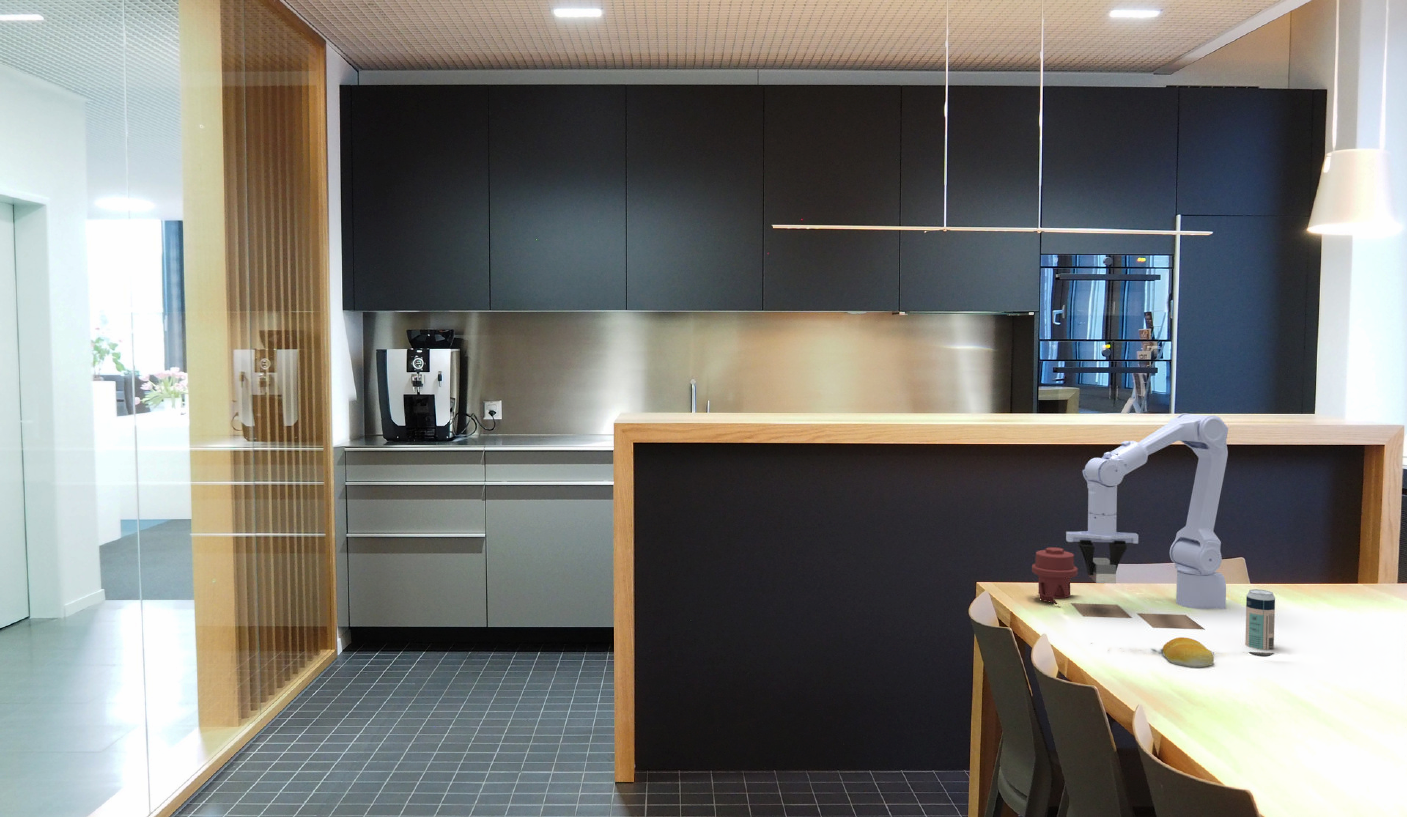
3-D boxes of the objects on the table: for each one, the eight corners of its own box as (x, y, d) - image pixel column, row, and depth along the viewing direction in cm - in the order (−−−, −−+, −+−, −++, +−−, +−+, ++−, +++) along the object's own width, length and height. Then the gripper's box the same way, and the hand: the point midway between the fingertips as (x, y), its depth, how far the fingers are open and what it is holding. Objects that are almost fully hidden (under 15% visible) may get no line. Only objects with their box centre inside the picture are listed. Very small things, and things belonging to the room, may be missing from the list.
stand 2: (1185, 621, 202) (1185, 614, 202) (1205, 636, 191) (1205, 629, 191) (1136, 620, 203) (1136, 613, 203) (1152, 634, 192) (1153, 627, 192)
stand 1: (1117, 611, 210) (1117, 604, 210) (1132, 624, 199) (1132, 617, 199) (1070, 609, 212) (1070, 603, 212) (1083, 623, 201) (1083, 616, 201)
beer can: (1270, 651, 181) (1272, 589, 180) (1276, 658, 176) (1278, 595, 176) (1242, 648, 182) (1243, 587, 182) (1247, 656, 178) (1249, 593, 177)
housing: (1106, 575, 208) (1106, 557, 208) (1115, 583, 201) (1116, 564, 201) (1087, 575, 209) (1088, 557, 208) (1096, 582, 202) (1096, 564, 202)
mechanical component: (1067, 595, 224) (1083, 606, 214) (1025, 595, 225) (1039, 606, 215) (1068, 544, 224) (1084, 553, 214) (1026, 544, 224) (1040, 553, 214)
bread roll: (1172, 668, 172) (1173, 646, 172) (1158, 653, 181) (1158, 632, 181) (1221, 670, 171) (1221, 648, 170) (1204, 655, 179) (1204, 634, 179)
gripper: (1071, 515, 202) (1071, 578, 202) (1143, 516, 199) (1142, 580, 200) (1064, 510, 209) (1063, 570, 209) (1133, 511, 206) (1132, 572, 207)
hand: (1101, 574), depth 205 cm, fingers closed on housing, 4 cm apart
